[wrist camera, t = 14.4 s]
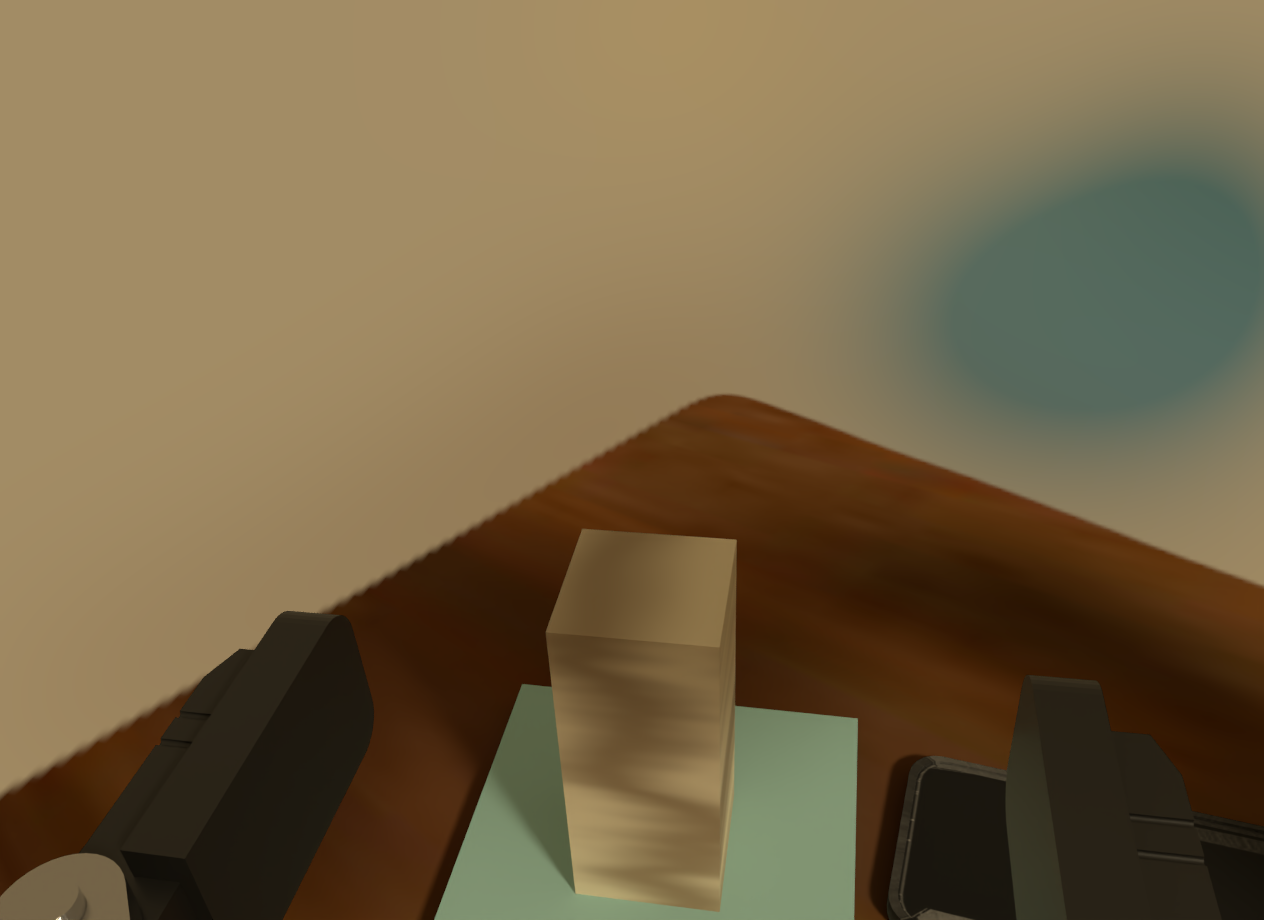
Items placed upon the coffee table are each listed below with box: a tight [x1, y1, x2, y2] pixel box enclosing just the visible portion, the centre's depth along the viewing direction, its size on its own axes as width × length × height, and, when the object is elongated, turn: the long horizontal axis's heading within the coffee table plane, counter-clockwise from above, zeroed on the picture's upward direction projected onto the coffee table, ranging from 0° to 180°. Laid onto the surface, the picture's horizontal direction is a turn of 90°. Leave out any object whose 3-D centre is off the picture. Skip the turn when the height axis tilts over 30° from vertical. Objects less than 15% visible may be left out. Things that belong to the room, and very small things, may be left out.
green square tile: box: [434, 684, 858, 920], centre depth 40 cm, size 14×14×1 cm
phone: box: [887, 756, 1264, 920], centre depth 38 cm, size 8×1×15 cm
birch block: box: [546, 529, 737, 912], centre depth 36 cm, size 5×5×12 cm
